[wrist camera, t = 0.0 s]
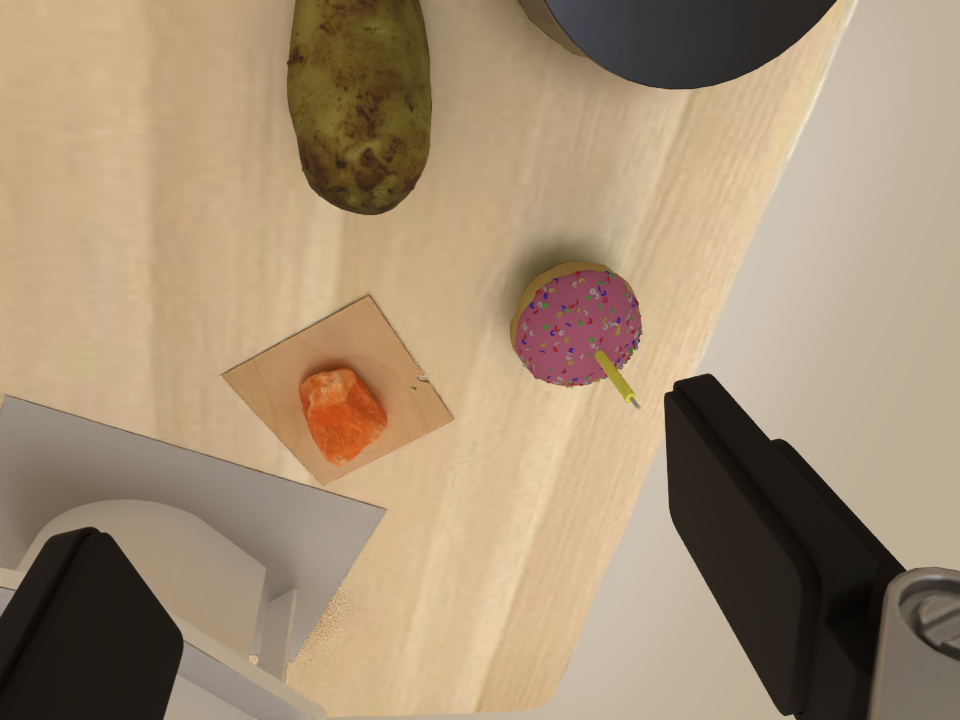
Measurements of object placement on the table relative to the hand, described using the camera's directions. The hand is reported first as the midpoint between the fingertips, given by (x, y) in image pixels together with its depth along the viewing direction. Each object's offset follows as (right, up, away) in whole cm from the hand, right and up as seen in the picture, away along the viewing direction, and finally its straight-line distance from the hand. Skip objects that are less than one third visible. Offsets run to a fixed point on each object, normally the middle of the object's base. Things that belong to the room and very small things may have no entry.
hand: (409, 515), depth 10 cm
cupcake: (+7, +7, +34) cm, 35 cm away
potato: (-5, +19, +25) cm, 32 cm away
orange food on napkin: (-9, 0, +35) cm, 36 cm away
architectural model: (-24, -13, +40) cm, 49 cm away
